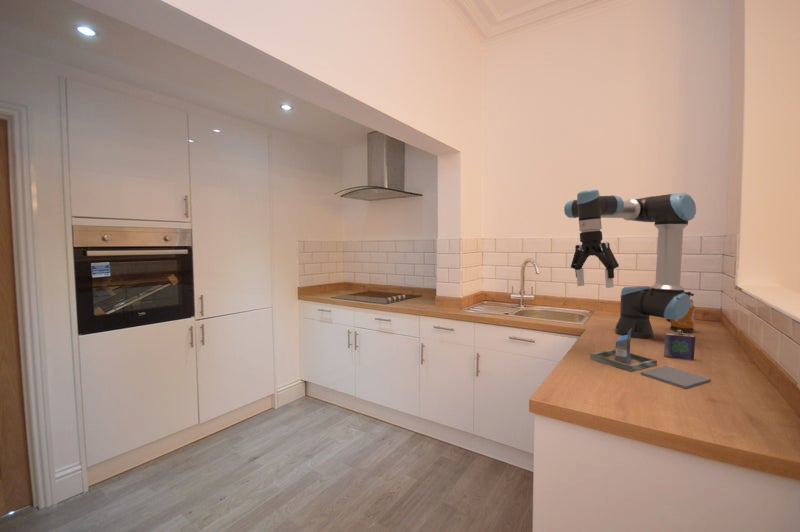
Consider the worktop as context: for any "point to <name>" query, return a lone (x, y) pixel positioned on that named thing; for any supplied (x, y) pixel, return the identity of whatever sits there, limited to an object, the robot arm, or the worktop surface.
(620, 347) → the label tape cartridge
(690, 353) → the flask
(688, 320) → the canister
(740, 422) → the worktop surface
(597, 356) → the holder
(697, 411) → the worktop surface
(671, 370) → the mat
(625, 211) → the robot arm
